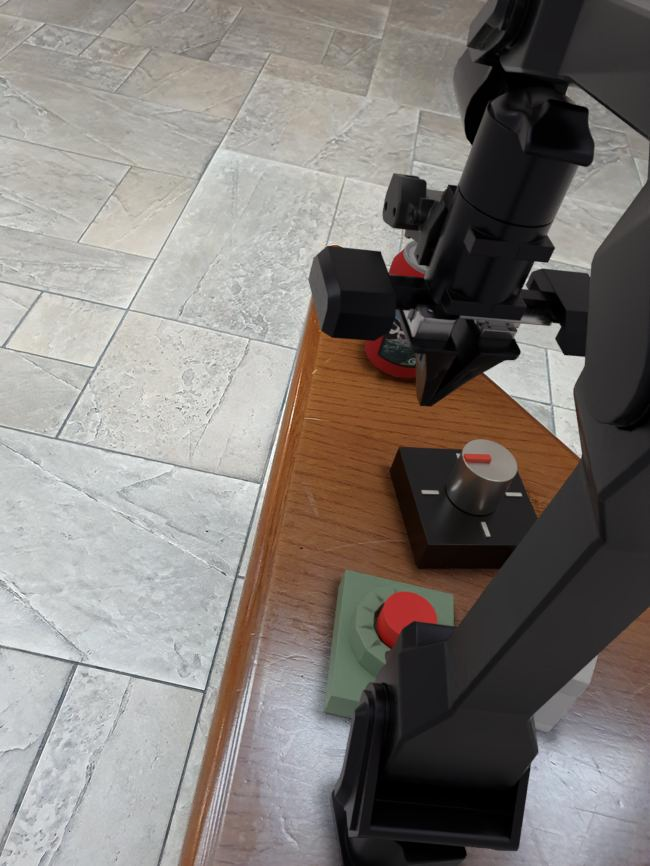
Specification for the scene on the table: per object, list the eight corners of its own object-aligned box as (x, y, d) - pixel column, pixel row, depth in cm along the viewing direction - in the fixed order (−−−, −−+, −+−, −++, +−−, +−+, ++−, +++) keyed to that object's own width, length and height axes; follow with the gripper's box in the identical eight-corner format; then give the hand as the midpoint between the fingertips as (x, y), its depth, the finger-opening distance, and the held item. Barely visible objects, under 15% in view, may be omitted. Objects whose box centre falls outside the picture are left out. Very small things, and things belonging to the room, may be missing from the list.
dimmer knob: (489, 473, 70) (508, 437, 67) (506, 515, 67) (527, 479, 64) (439, 472, 68) (456, 435, 66) (454, 515, 65) (473, 478, 63)
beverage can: (385, 389, 79) (424, 283, 71) (349, 344, 83) (382, 238, 75) (442, 377, 82) (486, 274, 74) (405, 334, 86) (443, 231, 78)
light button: (428, 659, 55) (437, 644, 54) (374, 646, 55) (381, 631, 54) (429, 612, 58) (437, 598, 56) (378, 600, 57) (385, 585, 56)
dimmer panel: (534, 568, 68) (550, 544, 65) (416, 568, 65) (429, 543, 63) (497, 474, 74) (510, 449, 72) (388, 471, 72) (399, 444, 70)
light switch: (524, 725, 57) (572, 664, 52) (528, 585, 66) (569, 521, 61) (548, 733, 57) (600, 673, 52) (549, 592, 66) (593, 529, 61)
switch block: (443, 739, 55) (463, 709, 53) (323, 712, 55) (337, 681, 52) (444, 611, 63) (462, 579, 60) (338, 586, 62) (351, 553, 59)
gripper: (598, 151, 56) (510, 337, 66) (323, 110, 51) (275, 318, 61) (673, 247, 48) (560, 439, 59) (358, 210, 43) (296, 428, 54)
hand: (423, 402), depth 58 cm, fingers closed
